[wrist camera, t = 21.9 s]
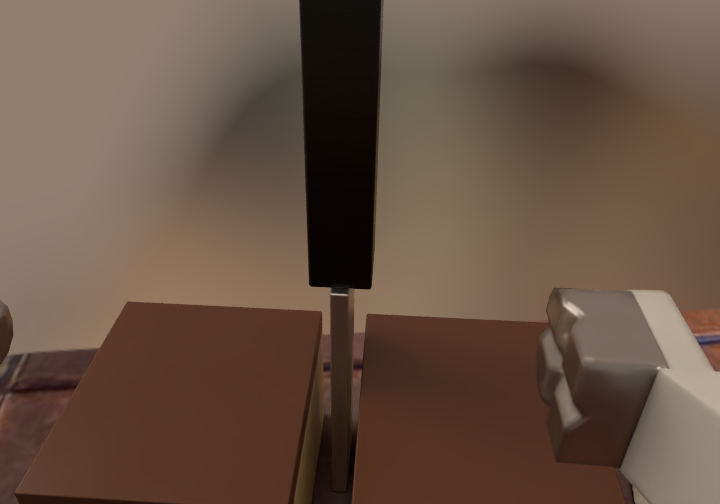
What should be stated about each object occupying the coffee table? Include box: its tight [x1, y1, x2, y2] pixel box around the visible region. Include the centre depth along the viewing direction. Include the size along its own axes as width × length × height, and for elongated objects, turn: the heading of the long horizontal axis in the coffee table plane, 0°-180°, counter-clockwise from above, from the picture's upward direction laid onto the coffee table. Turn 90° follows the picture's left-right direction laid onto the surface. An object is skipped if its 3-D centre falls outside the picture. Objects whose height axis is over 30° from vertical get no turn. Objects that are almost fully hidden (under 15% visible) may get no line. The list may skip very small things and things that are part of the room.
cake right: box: [352, 314, 626, 504], centre depth 23 cm, size 8×9×6 cm
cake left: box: [15, 302, 324, 504], centre depth 24 cm, size 8×9×6 cm
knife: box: [299, 0, 384, 492], centre depth 21 cm, size 2×3×19 cm, turn 176°
